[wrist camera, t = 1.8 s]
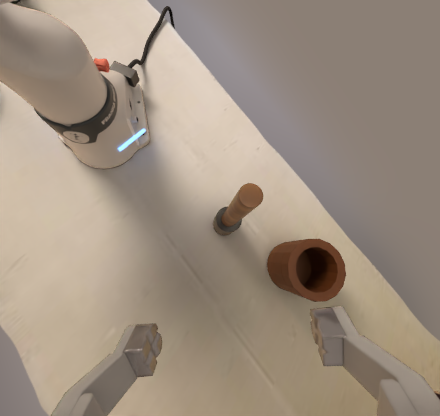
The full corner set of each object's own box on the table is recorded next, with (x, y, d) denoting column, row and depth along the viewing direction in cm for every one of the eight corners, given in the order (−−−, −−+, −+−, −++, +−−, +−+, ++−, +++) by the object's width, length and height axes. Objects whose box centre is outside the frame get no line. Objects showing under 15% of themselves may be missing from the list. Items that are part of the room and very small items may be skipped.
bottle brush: (213, 213, 48) (229, 174, 25) (235, 213, 49) (270, 175, 25) (213, 235, 47) (229, 216, 24) (235, 235, 48) (273, 216, 24)
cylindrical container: (265, 242, 48) (285, 239, 37) (309, 242, 49) (341, 238, 38) (268, 291, 46) (290, 302, 35) (314, 290, 47) (349, 300, 36)
